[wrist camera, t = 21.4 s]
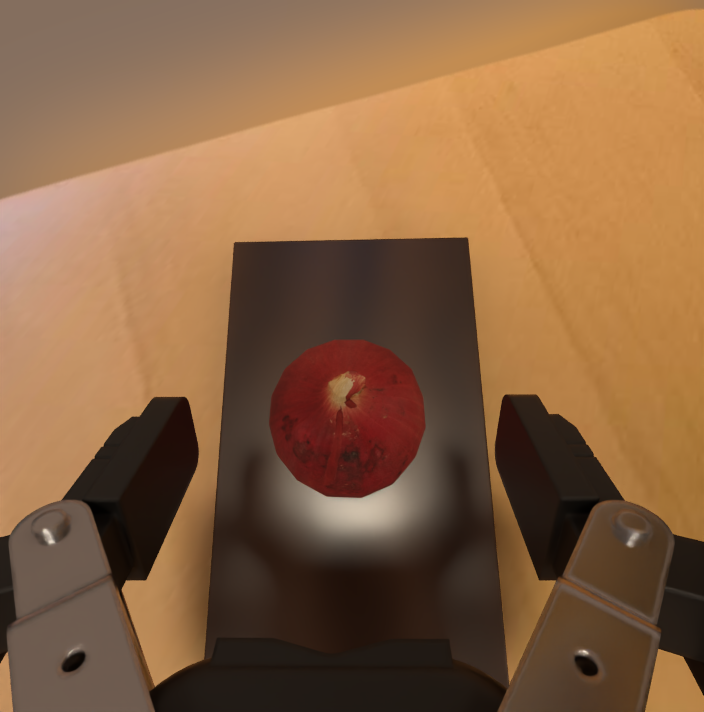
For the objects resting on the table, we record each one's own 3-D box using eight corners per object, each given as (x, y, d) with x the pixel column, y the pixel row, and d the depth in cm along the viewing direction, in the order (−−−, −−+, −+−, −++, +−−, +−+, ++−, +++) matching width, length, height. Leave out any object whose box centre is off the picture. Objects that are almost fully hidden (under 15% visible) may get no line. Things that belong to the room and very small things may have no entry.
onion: (415, 499, 20) (447, 499, 13) (282, 496, 20) (234, 494, 13) (412, 369, 22) (439, 299, 14) (289, 367, 22) (251, 297, 15)
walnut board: (461, 254, 26) (468, 236, 24) (497, 678, 20) (510, 695, 18) (242, 258, 26) (233, 241, 24) (214, 679, 20) (201, 696, 18)
